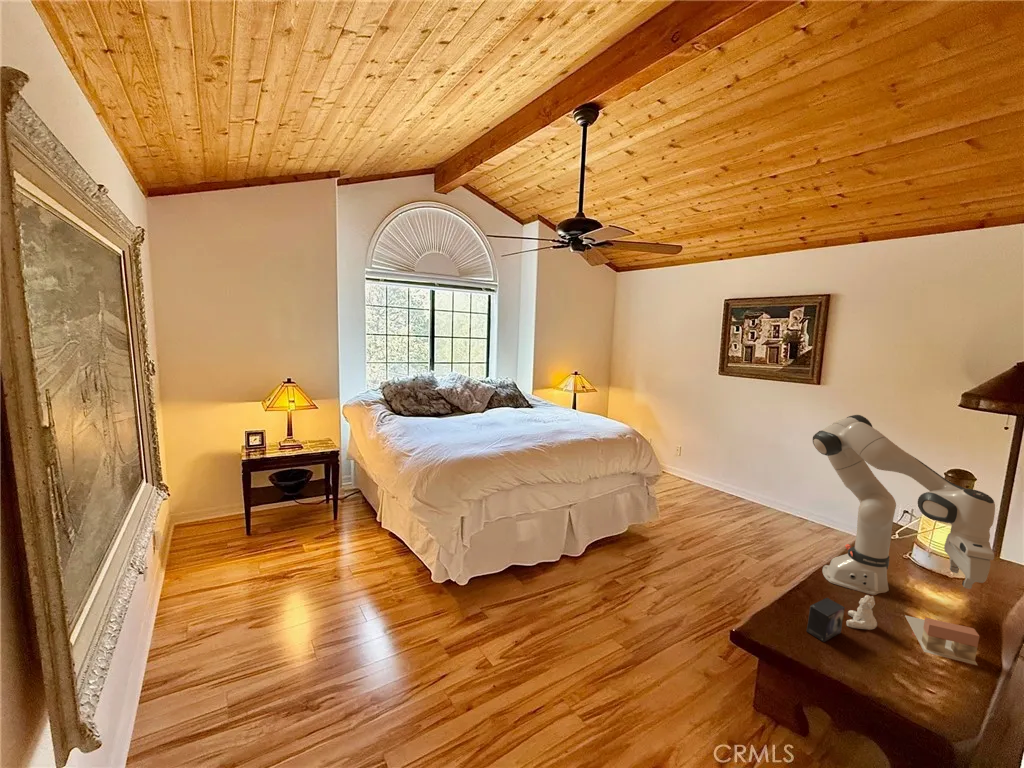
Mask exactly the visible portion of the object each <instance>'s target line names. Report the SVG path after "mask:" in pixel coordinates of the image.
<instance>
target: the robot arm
mask: <svg viewBox="0 0 1024 768" xmlns="http://www.w3.org/2000/svg"><path fill="white" fill-rule="evenodd" d="M812 444H813V446H814V447H815V449H816V451H817V452H818V453H820V454H822V455H824V456H827V458H828V460H829V463H830V464H831V466H832V468H833V469H834V471H835V472H836V473H837V476H838V477H839V478H840V480H841V482H842V483H843V485H844V486H845V487H846V488H847V489H848V490H849V491H851V493H853V495H854V496H855V497H856V498H857V500H858V501H859V506H858V508H857V509H858V511H857V525H856V535H855V542H854V546H852V545H851V544H849V543H847V544H845V546H844V547H845V549H846V550H847V553H845V554H842V555H838V556H836V557H833V558H832V559H831V561H830V562H829V564H825V565H823V566H822V570H821V571H822V574H823V577H824V578H825V579H826V581H828V582H829V583H831V584H834V585H836V586H840V587H843V588H846V589H850V590H854V591H858V592H861V593H865V594H867V595H871V596H877V595H878V594H881V593H883V594H884V593H887V592H889V590H890V589H889V588H890V587H889V583H888V568H889V566H890V556H889V555H890V554H889V553H890V546H891V541H892V532H893V531H892V530H893V523H894V518H895V513H896V508H897V501H896V499H895V498H894V496H893V495H892V493H890V492H889V491H888V489H887V488H886V487H885V486H884V484H882V482H881V481H880V480H879V479H878V478H877V477H876V475H875V474H874V473H873V471H872V470H871V468H870V466H872V467H873V468H874V469H877V470H880V471H885V472H893V473H899V474H903V475H905V476H907V477H910V478H912V479H913V480H914V481H916V483H918V484H920V485H921V486H922V487H924V488H925V489H926V490H928V491H927V492H923V493H922V494H920V495H919V497H918V499H917V506H918V507H917V508H918V509H919V512H921V513H922V515H924V516H925V517H926V518H928V519H929V520H930V519H931V520H933V521H937V522H940V523H941V522H942V523H946V524H950V525H951V527H950V531H949V533H948V534H947V536H946V539H945V543H944V548H943V549H944V552H945V553H946V554H947V556H948V557H949V570H950V572H951V573H955V574H959V570H960V571H961V572H962V573H963V574H964V578H965V579H964V580H962V582H961V583H962V584H961V585H962V586H963V588H964V589H968V590H971V589H972V588H973V585H974V583H980V584H983V583H985V582H986V581H987V579H988V576H989V573H990V569H991V561H993V560H994V559H995V553H994V551H993V549H992V547H991V542H990V539H991V532H990V530H991V528H992V527H993V526H994V521H995V513H996V503H995V501H994V498H992V497H991V496H990V495H988V494H987V493H985V492H983V491H981V490H977V489H973V488H966V487H963V486H961V485H958V484H955V483H953V482H951V481H949V480H948V479H946V478H945V477H944V476H942V475H941V474H939V473H938V472H937V471H935V470H934V469H932V468H931V467H929V466H928V465H927V464H925V463H924V462H922V461H921V460H919V459H918V458H917V457H915V456H913V455H911V454H910V453H909V452H906V451H905V450H904V449H902V448H901V447H899V446H898V445H896V443H895V442H893V441H892V440H890V439H889V438H888V437H886V436H885V435H884V434H883V433H881V432H880V431H879V430H877V429H875V428H874V427H873V425H872V423H871V421H870V420H869V419H868V418H866V417H865V416H863V415H861V414H852V415H850V416H849V415H848V416H847V417H845V418H843V419H841V420H838V421H836V422H833V423H831V424H830V425H828V426H827V427H825V428H823V429H822V430H819V431H818V432H816V433H815V434H813V436H812Z"/></svg>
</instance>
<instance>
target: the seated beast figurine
mask: <svg viewBox="0 0 1024 768" xmlns="http://www.w3.org/2000/svg"><path fill="white" fill-rule="evenodd" d="M858 604H859V606H858V607H857V608H856V610H857V611H856V610H851V609H850V610H848V611H847V615H848V616H849V617H851V618H852V619H847V620H846V621H845V622H846V626H847V627H849V628H852V629H860V630H869V631H871V630H875V629H876V628H877V626H878V622H877V619H876V618H875V616H874V614H873V612H874V611H873V608H874V606H875V605H876V601H875V597H874V595H871V596H870V594H866V595H864V597H862V598H861V597H860V600H859V601H858Z"/></svg>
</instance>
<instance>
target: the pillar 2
mask: <svg viewBox="0 0 1024 768" xmlns="http://www.w3.org/2000/svg"><path fill="white" fill-rule="evenodd" d="M951 649H952V650H953V652H954V654H955V655H956V657H959V658H963V659H967V660H971V661H976V657H977V656H976V655H977V651H978V647H974V646H970V645H966V644H962V643H958V642H954V641H952V645H951Z"/></svg>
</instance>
